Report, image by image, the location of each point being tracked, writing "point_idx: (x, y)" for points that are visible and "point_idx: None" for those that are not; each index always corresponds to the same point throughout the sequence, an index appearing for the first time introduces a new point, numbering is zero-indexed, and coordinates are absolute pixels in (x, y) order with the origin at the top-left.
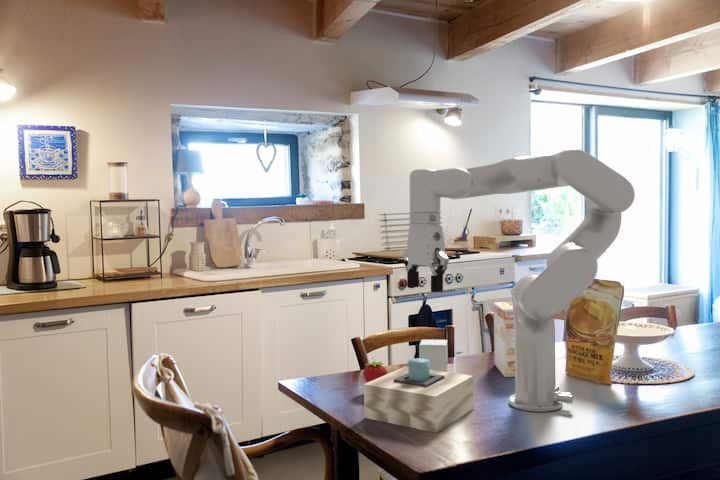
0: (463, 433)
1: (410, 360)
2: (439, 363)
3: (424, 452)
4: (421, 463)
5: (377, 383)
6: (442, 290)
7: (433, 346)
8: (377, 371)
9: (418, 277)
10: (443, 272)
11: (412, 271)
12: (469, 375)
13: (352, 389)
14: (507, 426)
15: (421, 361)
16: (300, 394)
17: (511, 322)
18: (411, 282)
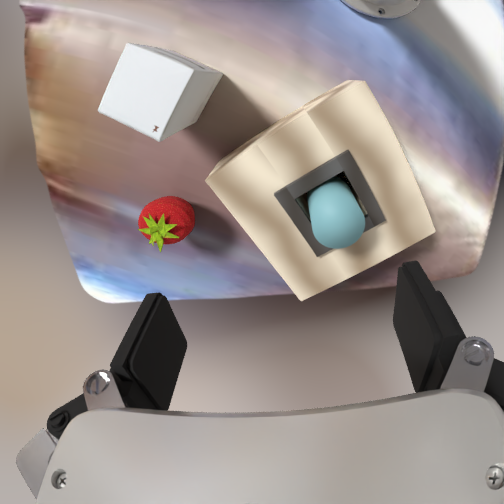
0: (434, 171)
1: (323, 240)
2: (200, 87)
3: (448, 249)
4: (464, 265)
5: (309, 281)
6: (416, 262)
7: (179, 104)
8: (187, 230)
9: (146, 337)
10: (496, 363)
11: (148, 403)
12: (357, 86)
13: None
14: (445, 95)
15: (348, 222)
16: None
17: None
18: (175, 354)
